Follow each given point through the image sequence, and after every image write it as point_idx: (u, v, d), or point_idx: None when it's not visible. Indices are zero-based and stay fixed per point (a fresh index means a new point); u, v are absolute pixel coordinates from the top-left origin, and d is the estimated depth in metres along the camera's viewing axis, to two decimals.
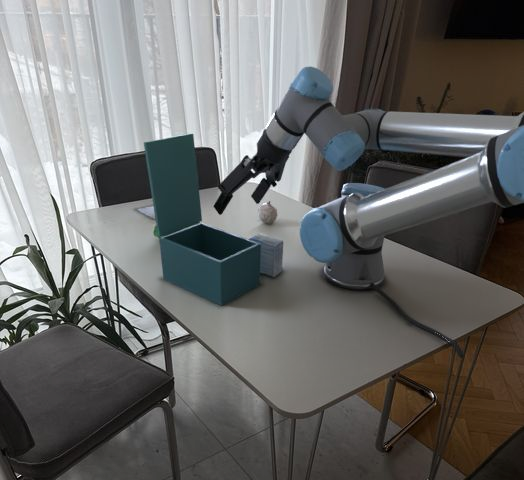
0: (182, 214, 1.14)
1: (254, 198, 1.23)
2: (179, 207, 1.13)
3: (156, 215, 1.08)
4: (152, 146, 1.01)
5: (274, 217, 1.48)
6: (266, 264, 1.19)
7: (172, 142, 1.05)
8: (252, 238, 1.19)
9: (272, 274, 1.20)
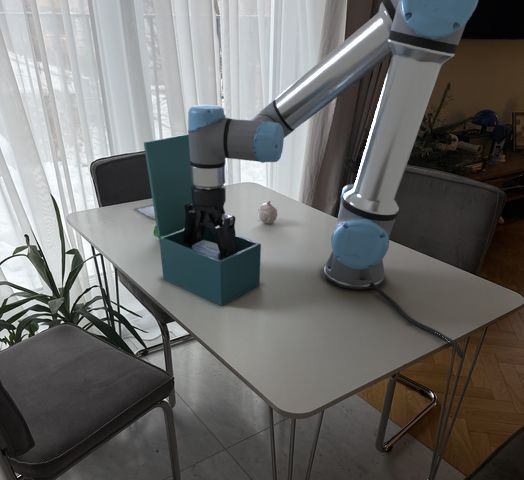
0: (182, 214, 1.14)
1: None
2: (179, 207, 1.13)
3: (156, 215, 1.08)
4: (152, 146, 1.01)
5: (274, 217, 1.48)
6: None
7: (172, 142, 1.05)
8: (196, 244, 1.12)
9: None
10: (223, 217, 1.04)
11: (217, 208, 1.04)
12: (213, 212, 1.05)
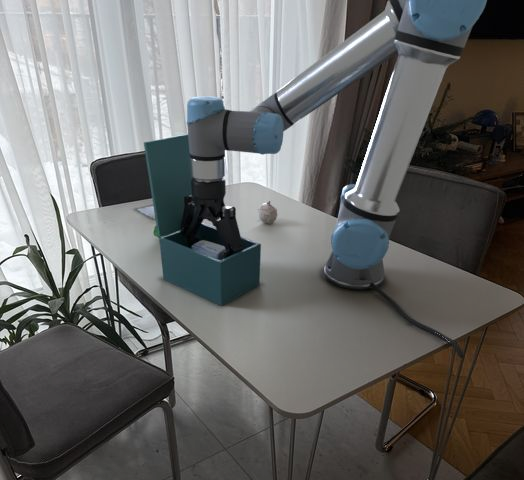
0: (182, 214, 1.14)
1: None
2: (179, 207, 1.13)
3: (156, 215, 1.08)
4: (152, 146, 1.01)
5: (274, 217, 1.48)
6: None
7: (172, 142, 1.05)
8: (195, 244, 1.12)
9: None
10: (223, 209, 1.03)
11: (217, 202, 1.03)
12: (213, 205, 1.04)
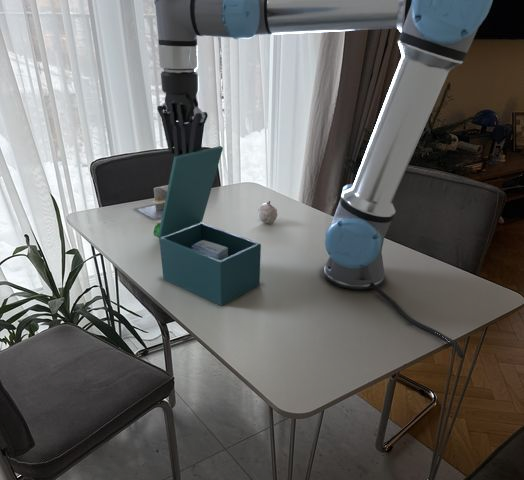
0: (186, 217, 1.13)
1: None
2: (186, 212, 1.12)
3: (163, 219, 1.07)
4: (181, 161, 0.98)
5: (274, 217, 1.48)
6: None
7: (201, 156, 1.01)
8: (195, 245, 1.12)
9: None
10: (195, 110, 0.96)
11: (189, 97, 0.95)
12: (185, 102, 0.96)
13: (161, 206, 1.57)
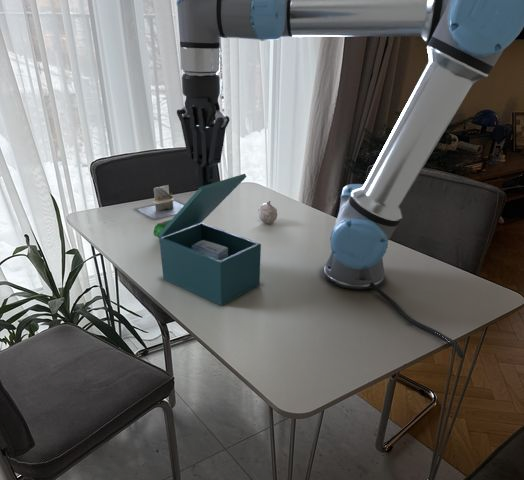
0: (190, 222, 1.13)
1: None
2: (191, 219, 1.12)
3: (168, 226, 1.07)
4: (205, 191, 0.97)
5: (274, 217, 1.48)
6: None
7: (224, 185, 1.01)
8: (195, 245, 1.12)
9: None
10: (216, 115, 0.93)
11: (210, 101, 0.92)
12: (206, 106, 0.93)
13: (161, 206, 1.57)
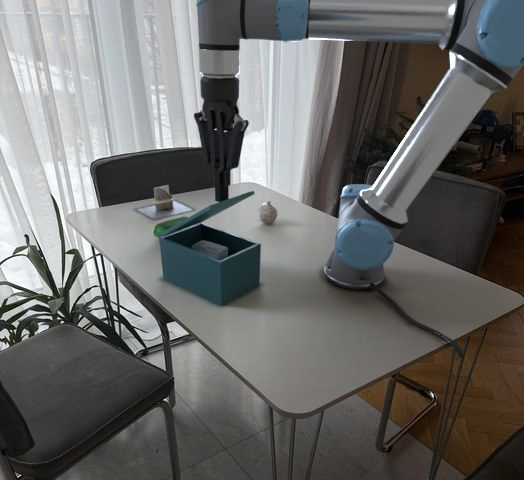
0: (191, 224, 1.14)
1: None
2: (193, 223, 1.12)
3: (170, 230, 1.07)
4: (214, 208, 0.98)
5: (274, 217, 1.48)
6: None
7: (232, 202, 1.02)
8: (195, 245, 1.12)
9: None
10: (236, 118, 0.91)
11: (229, 104, 0.89)
12: (225, 109, 0.90)
13: (161, 206, 1.57)
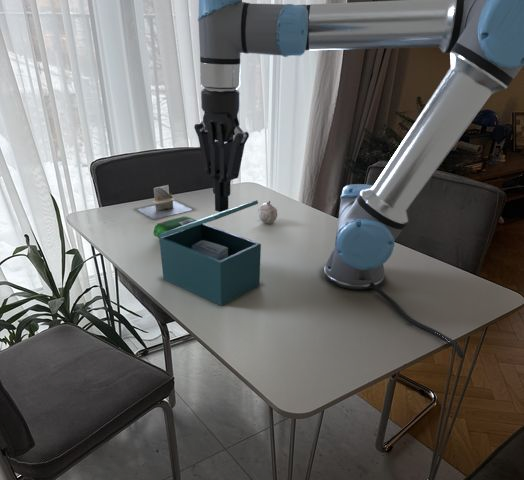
0: None
1: None
2: None
3: (171, 232, 1.07)
4: None
5: (274, 217, 1.48)
6: None
7: None
8: (195, 245, 1.12)
9: None
10: (236, 130, 0.92)
11: (230, 117, 0.91)
12: (225, 121, 0.92)
13: (161, 206, 1.57)
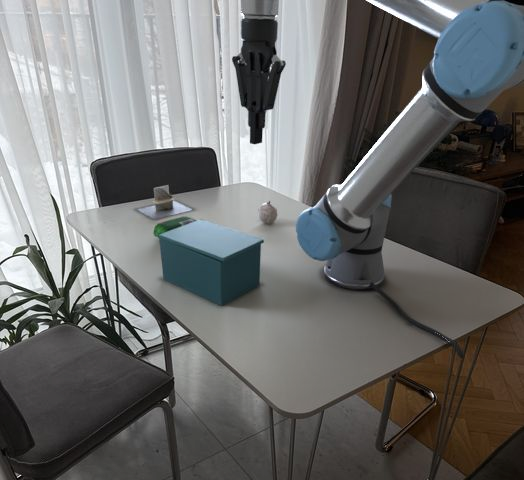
0: None
1: None
2: None
3: (173, 242, 1.09)
4: None
5: (274, 217, 1.48)
6: None
7: None
8: None
9: None
10: (273, 59, 0.96)
11: (268, 45, 0.95)
12: (263, 50, 0.96)
13: (161, 206, 1.57)
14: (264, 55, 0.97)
